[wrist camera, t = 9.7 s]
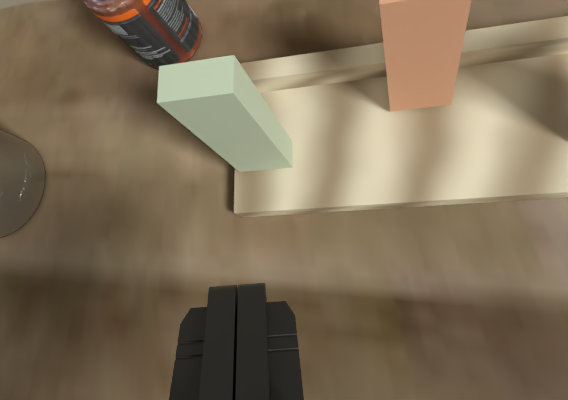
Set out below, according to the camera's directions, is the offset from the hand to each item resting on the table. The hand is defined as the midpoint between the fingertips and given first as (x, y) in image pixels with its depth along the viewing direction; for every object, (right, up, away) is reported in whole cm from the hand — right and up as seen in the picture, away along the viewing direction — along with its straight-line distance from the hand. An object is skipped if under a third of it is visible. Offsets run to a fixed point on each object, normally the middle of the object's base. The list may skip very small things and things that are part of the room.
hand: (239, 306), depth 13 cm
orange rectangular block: (+10, +10, +20) cm, 24 cm away
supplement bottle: (-8, +17, +28) cm, 34 cm away
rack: (+11, +8, +21) cm, 25 cm away
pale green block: (0, +6, +21) cm, 22 cm away
